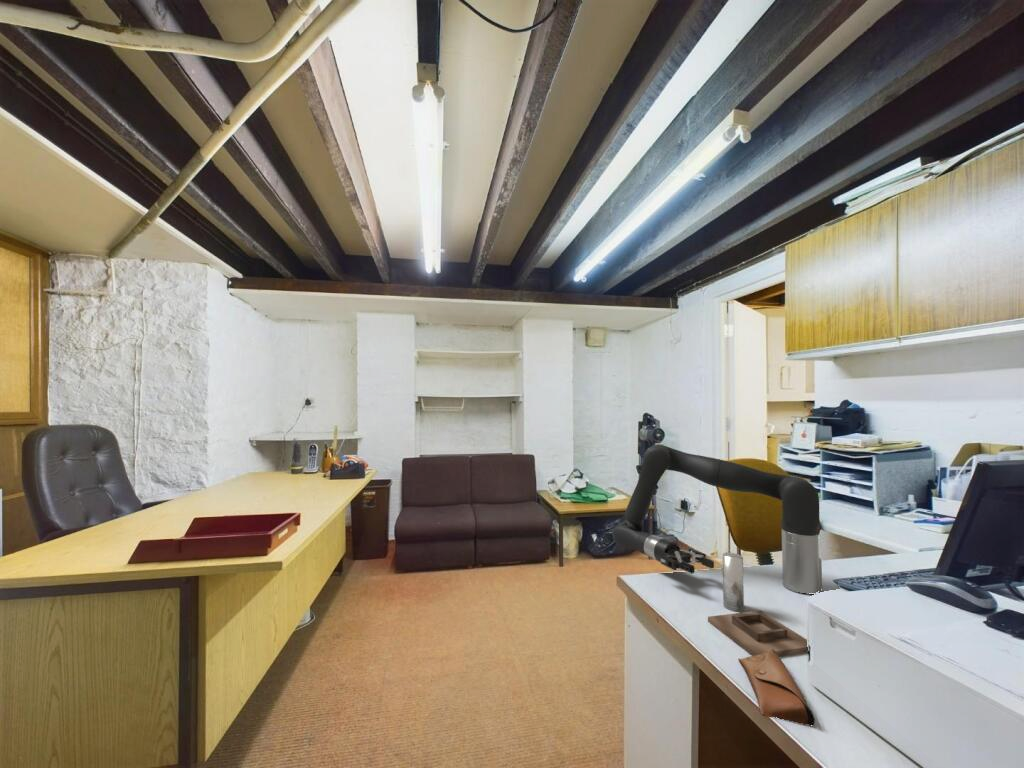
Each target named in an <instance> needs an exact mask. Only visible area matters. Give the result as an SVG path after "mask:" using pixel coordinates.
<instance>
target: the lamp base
mask: <svg viewBox="0 0 1024 768" xmlns="http://www.w3.org/2000/svg"><path fill="white" fill-rule="evenodd" d="M707 623H709V624H711V625H712V626H713V627H714V628H716V629H717V630H718V631H720V632H721V633H722V634H723V635H725V636H726V637H727V638H728V639H730V640H731V641H733V642H734V643H735V644H736V645H737V646H739V647H740V648H741V649H742V650H744V651H745V652H746V653H748V654H749V655H751V656H754V655H758V654H762V653H766V652H770V651H771V650H772V649H774V650H775V651H776V653H777V655H778V656H779V658H780V657H785V656H786V657H787V656H792V655H799V653H800V654H807V653H808V652H807V651H808V647H807V640H808V639H807V638H805V637H804V636H802V635H800V634H799V633H798V632H795V630H792V629H791V628H789V627H787V626H786V625H784V624H783V623H782V622H779V621H778V620H777V619H775V618H773V617H771V616H770V615H768V614H767V613H766V612H763V611H762V610H752V611H745V612H744V611H742V612H734V613H729V614H728V613H727V614H720V615H719V614H718V615H712V616H707Z"/></svg>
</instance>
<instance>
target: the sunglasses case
mask: <svg viewBox="0 0 1024 768" xmlns="http://www.w3.org/2000/svg"><path fill="white" fill-rule="evenodd" d="M738 662H739V664H740V665H741V667H742V668H743V670H744V672H745V674H746V677H747V678H748V681H749V683H750V686H751V688H752V690H753V693H754V695H755V698H756V700H757V704H758V707H759V712H760V714H761V715H762V716H763V717H766V718H772V717H775V718H774V719H777V718H779V719H778V720H782V719H784V720H783V721H786V720H789V721H788V722H791V721H793V722H792V723H796V722H797V723H796V724H801V723H803V724H802V725H806V724H810V725H812V727H813V726H814V725H815V722H816V721H815V716H814V714H813V712H812V710H811V708H810V707H809V704H808V702H807V700H806V699H805V697H804V695H803V693H802V691H801V690H800V688H799V687H798V685H797V683H796V681H795V680H794V678H793V677H792V675H791V673H790V672H789V670H788V668H787V666H786V664H785V663H784V662H783V661H782V659H781V658H780V657H779V656H778V655H777V653H776V651H775V650H774V649H772V650H771V651H770V652H766V653H762V654H758V655H754V656H752V655H751V656H748V657H744V658H738ZM776 717H777V718H776ZM810 725H809V726H810Z"/></svg>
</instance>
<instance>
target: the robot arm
mask: <svg viewBox="0 0 1024 768" xmlns="http://www.w3.org/2000/svg"><path fill="white" fill-rule="evenodd" d="M666 471H671V472H672V471H673V472H677V473H681V474H684V475H688V476H690V477H692V478H694V479H696V480H697V481H700V482H703V483H704V484H707V485H709V486H712V487H716V488H721V489H723V490H727V491H728V490H729V491H733V492H740V493H752V494H753V493H755V494H761V495H765V496H767V497H771V498H774V499H777V500H779V501H782V502H781V503H782V506H781V507H782V511H781V512H782V516H781V523H780V524H781V553H782V554H781V555H782V557H781V560H782V567H781V568H782V586H783V587H784V588H786V589H788V590H789V591H792V592H795V593H798V592H800V593H799V594H802V593H808V594H807V595H809V593H816V592H818V591H820V590H821V589H822V590H823V570H822V569H823V567H822V563H823V561H822V558H820V557H819V556H820V554H819V551H820V550H819V527H820V494H819V493H818V490H817V489H816V487H815V486H814V485H813V484H812V483H811V482H809V481H808V480H807V479H805V478H802V477H799V476H791V475H785V474H778V473H772V472H771V473H770V472H767V471H762V470H758V469H756V468H753V467H750V466H746V465H743V464H740V463H736V462H732V461H729V460H725V459H720V458H715V457H710V456H704V455H700V454H699V455H698V454H692V453H688V452H684V451H681V450H677V449H675V448H672V447H669V446H667V445H664V444H653V445H651V446H650V447H648V448H647V449H646V450H645V452H644V453H643V458H642V465H641V469H640V474H639V477H638V480H637V483H636V485H635V488H634V490H633V492H632V495H631V497H630V499H629V502H628V504H627V507H626V509H625V512H624V518H625V520H626V521H628V522H629V525H626V524H625V525H624V524H623V525H622V524H619V525H617V526H615V527H614V528H613V530H612V533H611V534H612V539H613V541H614V542H615V543H616V544H617V546H621V547H623V548H627V549H630V550H635V551H637V552H639V553H641V554H644V555H646V556H648V557H649V558H651V559H653V560H655V561H657V562H660V564H661V565H663V566H665V567H667V568H668V569H671V570H673V571H677V569H678V570H680V571H682V570H683V571H685V572H688V573H689V574H695V566H694V565H696V564H697V565H702V566H705V567H707V568H710V569H714V568H715V561H714V560H712V559H710V558H707V557H706V556H707V554H706V553H703V552H701V551H698V550H695V549H692V548H688V549H687V550H688V551H687V550H685V549H681V547H680V546H679V545H678V543H676V542H674V541H671V540H669V539H666V538H663V537H661V536H657V535H653V534H651V533H649V532H645V531H644V524H645V523H644V521H645V519H646V517H647V515H648V514H647V513H648V512H649V510H650V506H651V503H652V500H653V497H654V496H653V495H654V493H655V491H656V488H657V485H658V484H659V481H660V480H661V478H662V476H663V475H664V473H665V472H666ZM691 559H692V560H691ZM820 592H821V591H820Z"/></svg>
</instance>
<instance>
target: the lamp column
mask: <svg viewBox="0 0 1024 768" xmlns="http://www.w3.org/2000/svg"><path fill="white" fill-rule="evenodd" d="M722 590H723V591H722V594H723V595H722V597H723V598H722V599H723V602H722V603H723V608H725V609H727V611H731V612H734V613H743V612H744V611H745V599H744V598H745V597H744V596H745V595H744V592H745V591H744V590H745V589H744V557H743V556H742V555H741V554H738V553H734V552H723V553H722Z"/></svg>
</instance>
